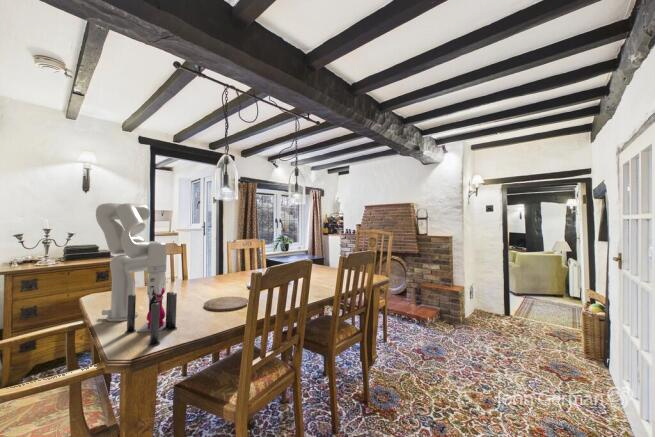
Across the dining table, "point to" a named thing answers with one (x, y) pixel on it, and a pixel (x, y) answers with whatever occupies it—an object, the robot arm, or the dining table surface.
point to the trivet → (225, 304)
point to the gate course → (153, 317)
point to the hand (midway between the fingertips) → (155, 308)
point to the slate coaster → (146, 329)
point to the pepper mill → (161, 310)
